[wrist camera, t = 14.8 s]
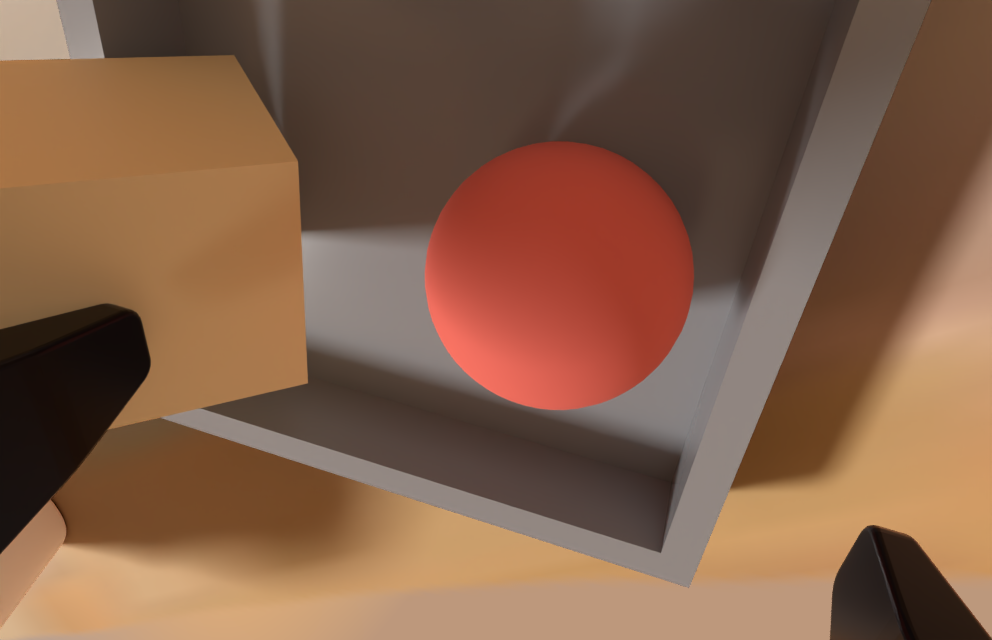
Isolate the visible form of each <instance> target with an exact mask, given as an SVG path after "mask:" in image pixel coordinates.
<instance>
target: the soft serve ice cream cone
mask: <svg viewBox="0 0 992 640" xmlns="http://www.w3.org/2000/svg"><path fill="white" fill-rule="evenodd" d="M65 537H66V525H65V522H64V519H63V517H62V515H61V513H60V512H59V510H58V509H57V507H56V506H55V504H54V503H53V502H52V501H51V499H50V500H49V502H48V503H47V504H46V505H45V506H44V507H43V508H42V509H41V510H40V511H39V513H38V514H37V515H36V516H35V517H34V518H33V519H32V520H31V521H30V522H29V524H28V525H27V526H26V527H25V528H24V529H23V530H22V531H21V532H20V533H19V535H18V536H17V537H16V538H15V539H14V540H13V541H12V542H11V543H10V544H9V546H8V547H7V548H6V549H5V550H4V551H3V552H2V553H1V554H0V629H1V627H2V626H3V625H4V623H5V622H6V621H7V619H8V618H9V616H10V615H11V614H12V612H13V611H14V610H15V608H16V607H17V605H18V604H19V603H20V601H21V600H22V599H23V597H24V596H25V595H26V593H27V592H28V590H29V589H30V588H31V586H32V585H33V584H34V582H35V581H36V579H37V578H38V577H39V575H40V574H41V573H42V571H43V570H44V569H45V567H46V566H47V564H48V563H49V562H50V560H51V559H52V558H53V556H54V555H55V553H56V552H57V551H58V549H59V548H60V547H61V545H62V544H63V542H64V540H65Z"/></svg>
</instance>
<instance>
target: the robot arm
mask: <svg viewBox="0 0 992 640" xmlns="http://www.w3.org/2000/svg"><path fill="white" fill-rule="evenodd" d="M150 367H151V357H150V353H149V349H148V345H147V340H146V336H145V332H144V328H143V323H142V320H141V317H140V316H139V315H138V313H137V312H135V311H134V310H132V309H128V308H125V307H121V306H118V305H115V304H109V303H104V304H99V305H95V306H91V307H87V308H83V309H79V310H75V311H71V312H67V313H63V314H59V315H55V316H51V317H47V318H43V319H39V320H35V321H31V322H27V323H23V324H19V325H15V326H11V327H7V328H3V329H0V554H1V553H2V552H3V551H4V550H5V549H6V548H7V547H8V546H9V544H10V543H11V542H12V541H13V540H14V539H15V538H16V537H17V536H18V535H19V533H20V532H21V531H22V530H23V529H24V528H25V527H26V526H27V525H28V524H29V522H30V521H31V520H32V519H33V518H34V517H35V516H36V515H37V514H38V513H39V511H40V510H41V509H42V508H43V507H44V506H45V505H46V504H47V503H48V502H49V500H50V499H51V498H52V497H53V496H54V495H55V494H56V493H57V492H58V491H59V490H60V488H61V487H62V486H63V485H64V484H65V483H66V482H67V481H68V479H69V478H70V477H71V476H72V475H73V474H74V472H75V471H76V470H77V469H78V468H79V466H80V465H81V464H82V463H83V461H84V460H85V459H86V458H87V456H88V455H89V454H90V452H91V451H92V450H93V448H94V447H95V446H96V445H97V443H98V442H99V441H100V439H101V438H102V437H103V435H104V434H105V433H106V431H107V430H108V429H109V427H110V426H111V425H112V423H113V422H114V421H115V419H116V418H117V417H118V415H119V414H120V413H121V411H122V410H123V409H124V407H125V406H126V405H127V403H128V402H129V401H130V399H131V398H132V397H133V395H134V394H135V393H136V391H137V390H138V389H139V387H140V386H141V385H142V383H143V382H144V381H145V379H146V378H147V376H148V374H149V371H150ZM830 640H992V638H991V637H990V636H989V634H988V633H987V632H986V631H985V629H984V628H983V627H982V625H981V624H980V623H979V621H978V620H977V619H976V618H975V616H974V615H973V614H972V612H971V611H970V610H969V608H968V607H967V606H966V605H965V603H964V602H963V601H962V599H961V598H960V597H959V596H958V594H957V593H956V592H955V590H954V589H953V588H952V587H951V585H950V584H949V583H948V581H947V580H946V579H945V578H944V576H943V575H942V574H941V572H940V571H939V570H938V568H937V567H936V566H935V565H934V563H933V562H932V561H931V559H930V558H929V557H928V556H927V554H926V553H925V552H924V550H923V549H922V548H921V547H920V545H919V544H918V543H917V542H916V541H915V540H914V539H913V538H912V537H911V536H909V535H907V534H904V533H900V532H897V531H893V530H890V529H887V528H883V527H880V526H876V525H870V526H867V527H866V528H865V529H863V530H862V532H861V533H860V535H859V536H858V538H857V540H856V542H855V543H854V545H853V547H852V548H851V550H850V552H849V553H848V555H847V557H846V559H845V560H844V562H843V564H842V565H841V567H840V569H839V571H838V573H837V575H836V578H835V581H834V585H833V592H832V610H831V630H830Z"/></svg>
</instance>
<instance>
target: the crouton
mask: <svg viewBox="0 0 992 640" xmlns="http://www.w3.org/2000/svg"><path fill="white" fill-rule="evenodd" d="M104 303H109V304H115V305H118V306H121V307H125V308H128V309H132V310H134V311H135V312H137V313H138V315H139V316H140V317H141V320H142V323H143V328H144V332H145V336H146V340H147V345H148V349H149V353H150V357H151V367H150V371H149V374H148V376H147V378H146V379H145V381H144V382H143V383H142V385H141V386H140V387H139V389H138V390H137V391H136V393H135V394H134V395H133V397H132V398H131V399H130V401H129V402H128V403H127V405H126V406H125V407H124V409H123V410H122V411H121V413H120V414H119V415H118V417H117V418H116V419H115V421H114V422H113V423H112V425H111V426H110V427H109V429H113V428H117V427H122V426H126V425H130V424H135V423H139V422H143V421H148V420H152V419H156V418H160V417H165V416H169V415H173V414H178V413H182V412H186V411H191V410H195V409H199V408H203V407H208V406H212V405H216V404H221V403H225V402H229V401H234V400H238V399H242V398H247V397H251V396H255V395H259V394H264V393H268V392H272V391H277V390H281V389H285V388H290V387H294V386H298V385H303V384H307V383H308V373H307V350H306V328H305V306H304V283H303V261H302V238H301V216H300V193H299V171H298V160H297V159H296V157H295V155H294V154H293V152H292V150H291V149H290V147H289V145H288V144H287V142H286V140H285V139H284V137H283V135H282V134H281V132H280V130H279V129H278V127H277V125H276V124H275V122H274V120H273V119H272V117H271V115H270V114H269V112H268V111H267V109H266V107H265V106H264V104H263V102H262V101H261V99H260V97H259V96H258V94H257V92H256V91H255V89H254V87H253V86H252V84H251V82H250V81H249V79H248V77H247V76H246V74H245V72H244V71H243V69H242V67H241V66H240V64H239V62H238V61H237V59H236V57H235V56H234V55H218V56H177V57H135V58H94V59H52V60H11V61H0V329H3V328H7V327H11V326H15V325H19V324H23V323H27V322H31V321H35V320H39V319H43V318H47V317H51V316H55V315H59V314H63V313H67V312H71V311H75V310H79V309H83V308H87V307H91V306H95V305H99V304H104ZM109 429H108V430H109Z"/></svg>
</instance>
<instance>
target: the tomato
mask: <svg viewBox="0 0 992 640" xmlns="http://www.w3.org/2000/svg"><path fill="white" fill-rule="evenodd" d="M693 284H694V265H693V254H692V249H691V245H690V241H689V237H688V234H687V231H686V229H685V226H684V224H683V221H682V219H681V216H680V214H679V212H678V211H677V209H676V207H675V205H674V204H673V202H672V200H671V199H670V198H669V196H668V195H667V194H666V193H665V191H664V190H663V189H662V187H661V186H660V185H659V184H658V183H657V182H656V181H655V180H654V179H653V178H652V177H651V176H650V175H648V174H647V173H646V172H645V171H643V170H642V169H641V168H639V167H638V166H637V165H635V164H634V163H633V162H631V161H629V160H627V159H626V158H624V157H622V156H620V155H618V154H616V153H614V152H611V151H609V150H606V149H604V148H600V147H596V146H593V145H589V144H583V143H576V142H568V141H550V142H542V143H535V144H531V145H527V146H523V147H520V148H517V149H514V150H511V151H509V152H507V153H505V154H502V155H500V156H498V157H496V158H494V159H492V160H491V161H489V162H488V163H486V164H484V165H483V166H481V167H480V168H479V169H478V170H477V171H475V172H474V173H473V174H472V175H471V176H469V177H468V178H467V179H466V180H465V181H464V182H463V183H462V184H461V185H460V186H459V187H458V189H457V190H456V191H455V192H454V193H453V195H452V196H451V197H450V199H449V200H448V202H447V203H446V205H445V207H444V208H443V210H442V211H441V213H440V215H439V217H438V220H437V222H436V224H435V226H434V229H433V232H432V234H431V238H430V241H429V245H428V249H427V256H426V265H425V290H426V296H427V302H428V308H429V312H430V315H431V318H432V322H433V324H434V326H435V328H436V331H437V333H438V335H439V337H440V339H441V341H442V343H443V344H444V346H445V348H446V349H447V351H448V353H449V354H450V355H451V357H452V358H453V359H454V361H455V362H456V363H457V364H458V365H459V366H460V367H461V368H462V369H463V370H464V372H466V373H467V374H468V375H469V376H470V377H471V378H472V379H474V380H475V381H476V382H478V383H479V384H480V385H482V386H483V387H485V388H486V389H488V390H489V391H491V392H493V393H495V394H496V395H498V396H500V397H503V398H505V399H507V400H509V401H512V402H515V403H518V404H521V405H525V406H529V407H534V408H539V409H548V410H569V409H578V408H583V407H588V406H592V405H597V404H600V403H603V402H606V401H608V400H611V399H613V398H615V397H617V396H619V395H621V394H623V393H625V392H627V391H628V390H630V389H632V388H633V387H635V386H636V385H637V384H639V383H640V382H642V381H643V380H644V379H645V378H646V377H647V376H649V375H650V374H651V373H652V372H653V371H654V370H655V369H656V368H657V367H658V366H659V365H660V364H661V363H662V361H663V360H664V359H665V358H666V356H667V355H668V354H669V352H670V351H671V349H672V347H673V346H674V344H675V342H676V340H677V339H678V337H679V335H680V334H681V332H682V329H683V327H684V324H685V322H686V319H687V316H688V312H689V309H690V304H691V300H692V295H693Z"/></svg>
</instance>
